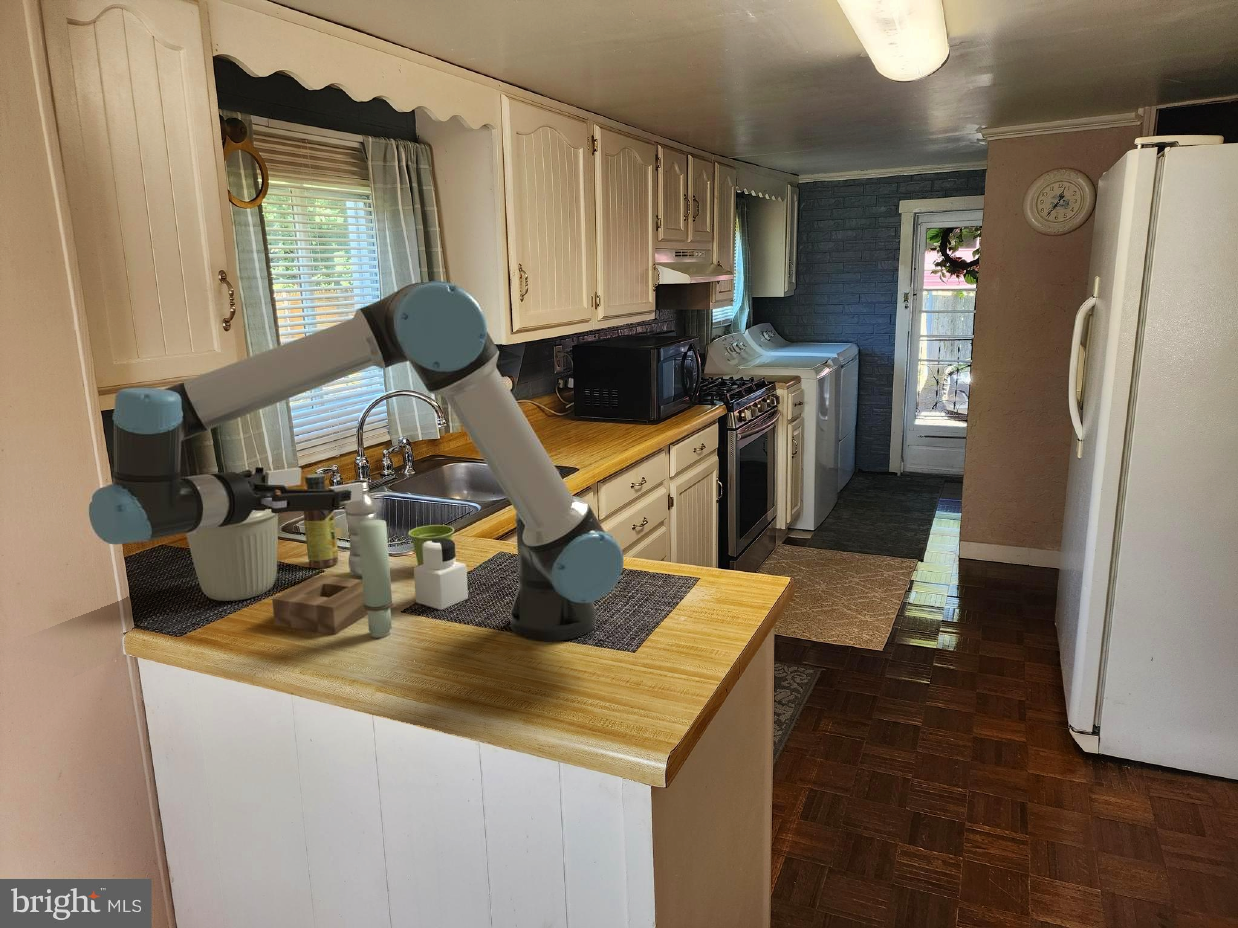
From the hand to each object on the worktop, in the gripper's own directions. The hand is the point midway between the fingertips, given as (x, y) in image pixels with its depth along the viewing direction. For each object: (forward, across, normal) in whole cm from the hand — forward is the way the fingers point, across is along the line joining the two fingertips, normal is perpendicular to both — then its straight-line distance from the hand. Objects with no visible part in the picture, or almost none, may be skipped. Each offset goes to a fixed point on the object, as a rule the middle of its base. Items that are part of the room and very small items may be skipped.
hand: (329, 483), depth 137 cm
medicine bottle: (+26, +4, -26) cm, 37 cm away
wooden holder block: (+11, -10, -28) cm, 32 cm away
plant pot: (+39, -9, -25) cm, 48 cm away
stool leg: (+9, +5, -27) cm, 29 cm away
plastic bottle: (+31, -20, -27) cm, 45 cm away
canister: (+12, -35, -30) cm, 48 cm away
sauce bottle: (+32, -33, -28) cm, 54 cm away
